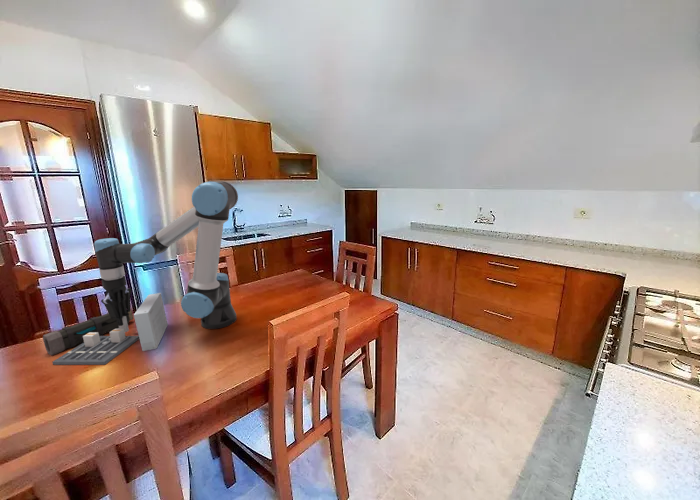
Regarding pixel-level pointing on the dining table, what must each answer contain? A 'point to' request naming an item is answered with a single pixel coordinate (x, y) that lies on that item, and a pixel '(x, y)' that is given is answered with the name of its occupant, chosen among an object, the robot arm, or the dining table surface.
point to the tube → (79, 333)
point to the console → (95, 352)
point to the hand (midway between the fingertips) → (124, 331)
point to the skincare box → (151, 321)
